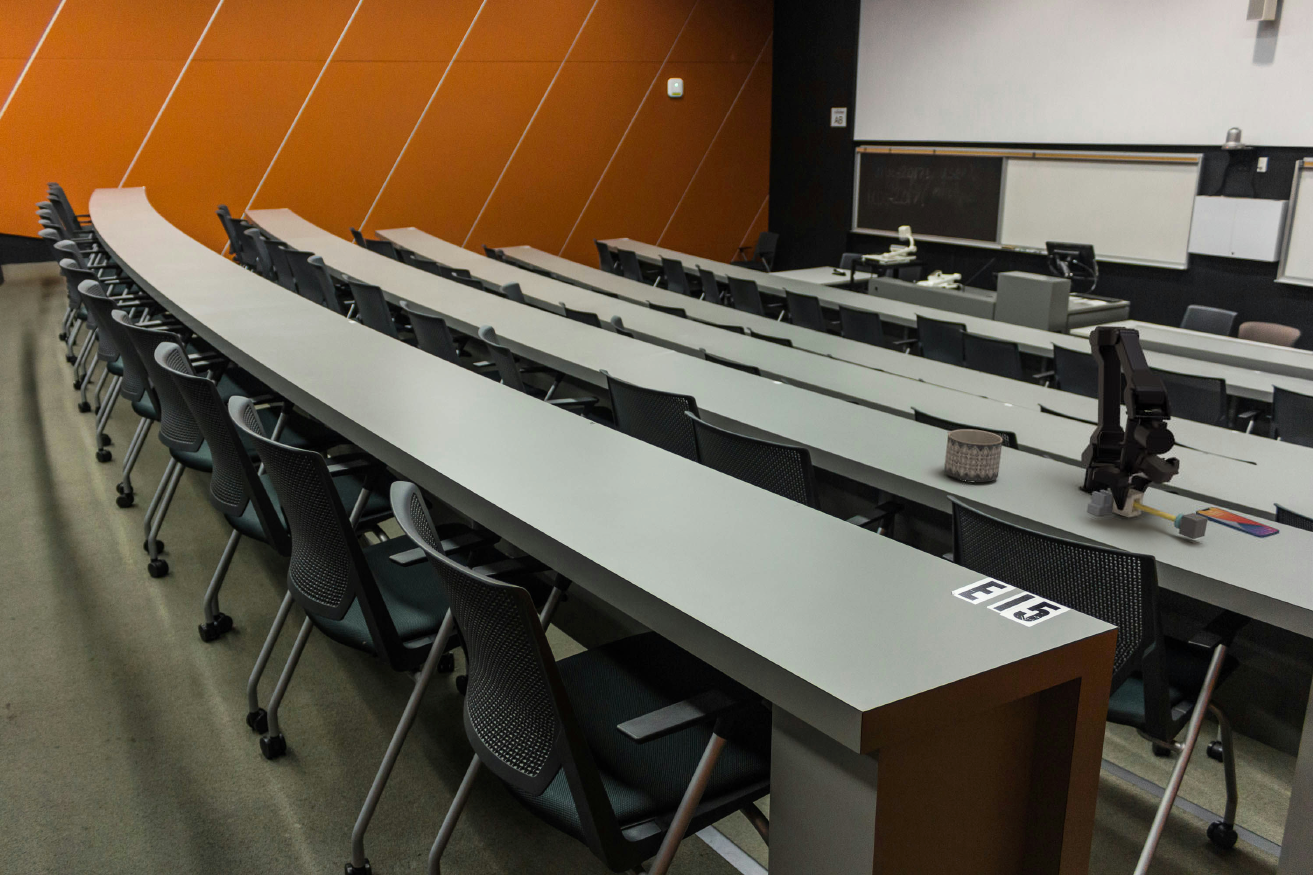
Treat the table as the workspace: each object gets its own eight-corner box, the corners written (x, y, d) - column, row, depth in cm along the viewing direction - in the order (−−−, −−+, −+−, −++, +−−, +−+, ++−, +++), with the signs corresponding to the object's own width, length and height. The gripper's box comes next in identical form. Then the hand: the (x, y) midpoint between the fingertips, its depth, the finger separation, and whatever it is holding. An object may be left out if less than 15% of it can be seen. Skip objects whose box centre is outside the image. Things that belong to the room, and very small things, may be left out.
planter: (979, 489, 226) (984, 447, 223) (933, 475, 235) (937, 435, 232) (1007, 478, 234) (1012, 437, 231) (961, 465, 243) (966, 426, 240)
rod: (1102, 496, 214) (1102, 491, 213) (1105, 495, 214) (1106, 490, 214) (1183, 526, 197) (1184, 520, 197) (1187, 525, 198) (1188, 520, 197)
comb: (1086, 511, 212) (1089, 492, 211) (1116, 504, 217) (1119, 485, 216) (1098, 516, 210) (1101, 496, 209) (1128, 509, 214) (1131, 489, 213)
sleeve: (1112, 511, 210) (1115, 489, 209) (1124, 508, 212) (1127, 487, 210) (1128, 517, 207) (1131, 495, 205) (1140, 514, 209) (1144, 492, 207)
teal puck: (1173, 529, 198) (1175, 514, 197) (1182, 526, 200) (1185, 512, 199) (1176, 530, 197) (1179, 516, 197) (1186, 528, 199) (1189, 513, 198)
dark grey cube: (1174, 531, 198) (1177, 514, 197) (1185, 529, 199) (1188, 511, 198) (1193, 539, 194) (1196, 520, 193) (1204, 536, 196) (1207, 517, 195)
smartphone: (1260, 541, 199) (1261, 536, 199) (1192, 515, 212) (1193, 511, 212) (1280, 535, 203) (1282, 530, 202) (1213, 510, 215) (1214, 506, 215)
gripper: (1143, 456, 194) (1131, 528, 198) (1201, 445, 202) (1188, 514, 206) (1096, 442, 203) (1085, 510, 207) (1153, 431, 211) (1142, 497, 216)
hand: (1126, 508), depth 209 cm, fingers closed on sleeve, 4 cm apart
